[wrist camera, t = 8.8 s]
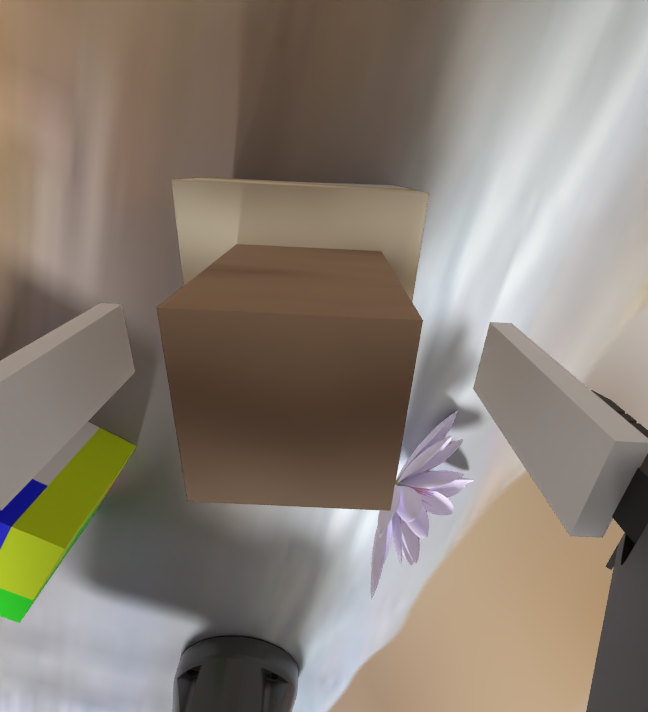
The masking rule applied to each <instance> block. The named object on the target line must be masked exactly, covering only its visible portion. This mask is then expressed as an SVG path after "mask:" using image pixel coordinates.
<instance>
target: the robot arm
mask: <svg viewBox="0 0 648 712" xmlns="http://www.w3.org/2000/svg"><path fill="white" fill-rule="evenodd" d="M134 373H135V369H134V364H133V359H132V354H131V349H130V344H129V339H128V333H127V328H126V323H125V318H124V313H123V308H122V304H106V303H100V304H98V305H96V306H94V307H93V308H91V309H89V310H87V311H86V312H84V313H82V314H81V315H79V316H77V317H75V318H74V319H72V320H70V321H68V322H67V323H65V324H63V325H61V326H60V327H58V328H56V329H54V330H53V331H51V332H49V333H47V334H46V335H44V336H42V337H41V338H39V339H37V340H35V341H34V342H32V343H30V344H28V345H27V346H25V347H23V348H21V349H20V350H18V351H16V352H14V353H13V354H11V355H9V356H8V357H6V358H4V359H2V360H1V361H0V510H3V509H4V508H5V506H6V505H7V504H8V503H9V502H10V501H11V500H12V499H13V498H14V497H15V496H16V495H17V494H18V493H19V492H20V491H21V490H22V489H23V488H24V487H25V486H26V485H27V484H28V483H29V482H30V481H31V480H32V479H33V478H34V477H35V475H36V474H37V473H38V472H39V471H40V470H41V469H42V468H43V467H44V466H45V465H46V464H47V463H48V462H49V461H50V460H51V459H52V458H53V457H54V456H55V455H56V454H57V453H58V452H59V451H60V450H61V449H62V448H63V447H64V446H65V444H66V443H67V442H68V441H69V440H70V439H71V438H72V437H73V436H74V435H75V434H76V433H77V432H78V431H79V430H80V429H81V428H82V427H83V426H84V425H85V424H86V423H87V422H88V421H89V420H90V419H91V418H92V417H93V416H94V414H95V413H96V412H97V411H98V410H99V409H100V408H101V407H102V406H103V405H104V404H105V403H106V402H107V401H108V400H109V399H110V398H111V397H112V396H113V395H114V394H115V393H116V392H117V391H118V390H119V389H120V388H121V387H122V386H123V385H124V383H125V382H126V381H127V380H128V379H129V378H130V377H131V376H132V375H133V374H134ZM473 389H474V391H475V392H476V394H477V395H478V397H479V398H480V400H481V401H482V403H483V404H484V406H485V407H486V409H487V410H488V412H489V413H490V415H491V417H492V418H493V420H494V421H495V423H496V424H497V426H498V427H499V429H500V430H501V432H502V433H503V435H504V436H505V438H506V439H507V441H508V442H509V444H510V445H511V447H512V449H513V450H514V452H515V453H516V455H517V456H518V458H519V459H520V461H521V462H522V464H523V465H524V467H525V468H526V470H527V471H528V473H529V474H530V476H531V478H532V479H533V481H534V482H535V484H536V485H537V487H538V488H539V490H540V491H541V493H542V494H543V496H544V497H545V499H546V500H547V502H548V503H549V505H550V507H551V508H552V509H553V511H554V513H555V514H556V516H557V517H558V519H559V520H560V522H561V523H562V525H563V526H564V528H565V529H566V531H567V532H568V534H569V535H570V536H579V537H603V536H604V534H605V532H606V530H607V529H608V527H609V525H610V523H611V521H612V519H613V518H614V520H615V521H616V522H617V523H618V524H619V525H620V527H621V528H622V529H623V531H624V532H625V533H624V535H623V537H622V538H621V540H620V542H619V544H618V546H617V547H616V549H615V551H614V553H613V554H612V556H611V558H610V560H609V562H608V563H607V565H606V567H607V568H609V569H612V568H613V567H614V570H613V574H612V580H611V585H610V590H609V595H608V600H607V606H606V611H605V617H604V621H603V627H602V632H601V637H600V642H599V648H598V653H597V658H596V663H595V669H594V674H593V679H592V684H591V690H590V695H589V700H588V705H587V711H586V712H648V430H647V429H646V428H644V427H643V426H642V425H641V424H637V423H636V420H635V419H633V418H632V417H631V416H630V415H628V414H625V411H624V410H622V409H621V408H620V407H619V406H617V405H616V404H615V403H614V402H612V401H611V400H610V399H608V398H606V397H604V396H602V395H600V394H598V393H596V392H594V391H593V390H590V389H589V388H588V387H586V386H585V385H584V384H583V383H582V382H580V381H579V380H578V379H577V378H576V377H575V376H573V375H572V374H571V373H570V372H569V371H567V370H566V369H565V368H564V367H563V366H561V365H560V364H559V363H558V362H557V361H556V360H554V359H553V358H552V357H551V356H550V355H548V354H547V353H546V352H545V351H544V350H542V349H541V348H540V347H539V346H538V345H537V344H535V343H534V342H533V341H532V340H531V339H529V338H528V337H527V336H526V335H525V334H523V333H522V332H521V331H520V330H519V329H518V328H516V327H515V326H514V325H513V324H512V323H494V322H490V325H489V329H488V333H487V336H486V340H485V344H484V348H483V352H482V356H481V360H480V364H479V368H478V372H477V376H476V380H475V384H474V388H473ZM297 688H298V667H297V664H296V663H295V661H294V660H293V658H292V657H291V656H290V655H289V654H287V653H286V652H285V651H283V650H282V649H280V648H278V647H276V646H274V645H272V644H269V643H267V642H264V641H260V640H256V639H252V638H245V637H217V638H211V639H207V640H204V641H201V642H198V643H196V644H194V645H192V646H191V647H189V648H188V649H187V650H186V651H185V652H184V653H183V654H182V656H181V658H180V662H179V665H178V668H177V672H176V675H175V679H174V688H173V711H172V712H292V709H293V706H294V703H295V700H296V696H297Z"/></svg>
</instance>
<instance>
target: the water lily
mask: <svg viewBox="0 0 648 712" xmlns="http://www.w3.org/2000/svg"><path fill="white" fill-rule="evenodd" d="M457 412H458V411H456V412H454V413H453V414H451V415H450V416H449V417H447V418H446V419H445V420H443V421H442V422H441V423H440V424H439V425H438V426H436V427H435V428H434V429H433V430H432V431H431V432H430V433H429V434H428V435H427V436H426V437H425V439H424V440H423V441H422V442H421V443H420V444H419V446H418V447H417V448H416V449H415V451H414V452H413V453H412V455H411V456H410V458H409V459H408V460H407V462H406V464H405V465H404V467H403V468H402V470H401V472H400V474H399V475H398V477H397V479H396V481H395V487H394V493H393V499H392V505H391V511H386V510H380V512H379V517H378V526H377V530H376V534H375V539H374V545H373V552H372V570H371V600H372V598H373V595H374V593H375V590H376V588H377V585H378V582H379V579H380V575H381V572H382V568H383V565H384V562H385V560H386V557H387V554H388V551H389V548H390V544H391V540H392V531H393V538H394V544H395V548H396V552H397V556H398V559H399V562H400V565H401V561H402V553H403V555H404V557H405V559H406V561H407V562H408V563H409V564H410V565H413V563H414V562H415V563H417V561H418V557H419V549H420V543H419V537H420V538H426V537H427V536H428V530H429V521H428V515H427V511H428V512H431V513H433V514H436V515H449V514H452V513H453V512H454V506H453V504H452V503H451V501H450V500H449V499H448V498H447V497H450V496H453V495H455V494H457V493H458V492H460V491H461V490H463V489H464V488H465V487H466V484H468V483H470V482H473V481H474V480H471V479H467V478H462V476H463V475H464V474H462V473H458V472H453V471H430V472H425V471H427V470H429V469H432V468H434V467H436V466H438V465H439V464H441V463H442V462H444V461H445V460H446V459H448V458H449V457H450V456H451V455H452V454H453V453H454V452H455V451H456V450H457V449H458V447H459V446H460V445H461V443H462V441H463V439H461V440H458V441H455V442H452V443H449V442H450V441H451V439H452V436H449V437H447V438H445V439H444V437H445V436H446V434H447V433H448V431H449V430H450V428H451V426H452V424H453V422H454V420H455V418H456V413H457ZM422 472H424V473H422Z"/></svg>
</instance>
